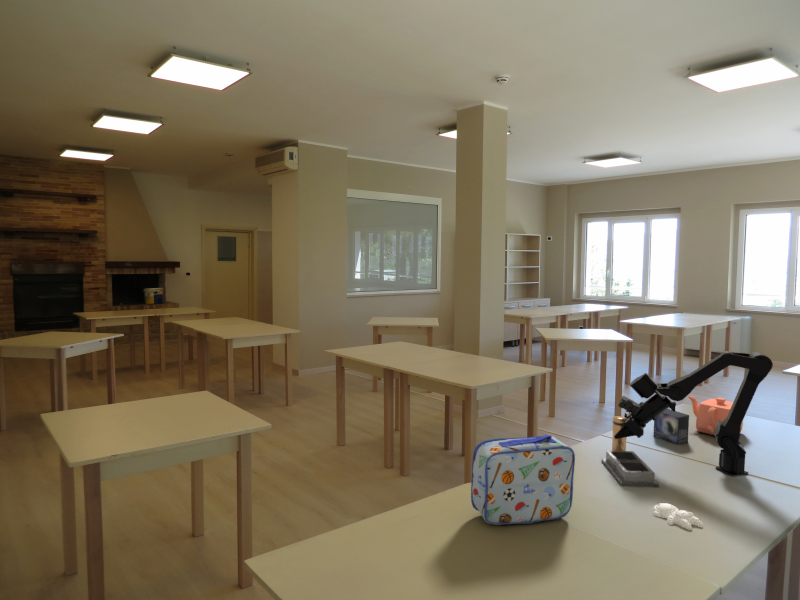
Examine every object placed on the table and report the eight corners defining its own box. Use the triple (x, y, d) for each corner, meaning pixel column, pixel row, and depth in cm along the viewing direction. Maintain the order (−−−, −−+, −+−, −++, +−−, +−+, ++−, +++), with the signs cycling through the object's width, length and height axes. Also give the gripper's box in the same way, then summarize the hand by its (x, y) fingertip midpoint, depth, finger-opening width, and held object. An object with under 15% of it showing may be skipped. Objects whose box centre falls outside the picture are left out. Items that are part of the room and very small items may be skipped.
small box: (652, 436, 200) (653, 409, 199) (663, 433, 203) (665, 407, 202) (676, 445, 190) (678, 417, 190) (688, 442, 193) (690, 414, 192)
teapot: (694, 420, 220) (696, 388, 219) (747, 432, 205) (749, 397, 204) (673, 429, 208) (675, 395, 206) (728, 443, 193) (730, 406, 191)
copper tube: (628, 456, 179) (630, 419, 178) (617, 457, 178) (618, 420, 177) (619, 451, 183) (621, 415, 182) (608, 453, 182) (610, 416, 181)
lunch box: (558, 501, 145) (560, 424, 144) (580, 519, 136) (583, 437, 134) (467, 513, 138) (468, 433, 136) (483, 533, 128) (485, 446, 126)
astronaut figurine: (681, 533, 130) (682, 521, 129) (645, 511, 141) (645, 500, 141) (708, 528, 132) (709, 516, 132) (670, 506, 144) (671, 496, 143)
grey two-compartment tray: (601, 461, 175) (602, 449, 174) (635, 462, 174) (635, 450, 173) (621, 485, 156) (621, 472, 155) (659, 487, 155) (659, 474, 155)
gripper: (634, 383, 185) (599, 410, 191) (633, 396, 168) (596, 425, 174) (657, 408, 183) (622, 434, 188) (659, 423, 166) (620, 451, 171)
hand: (615, 435), depth 180 cm, fingers closed on copper tube, 4 cm apart
